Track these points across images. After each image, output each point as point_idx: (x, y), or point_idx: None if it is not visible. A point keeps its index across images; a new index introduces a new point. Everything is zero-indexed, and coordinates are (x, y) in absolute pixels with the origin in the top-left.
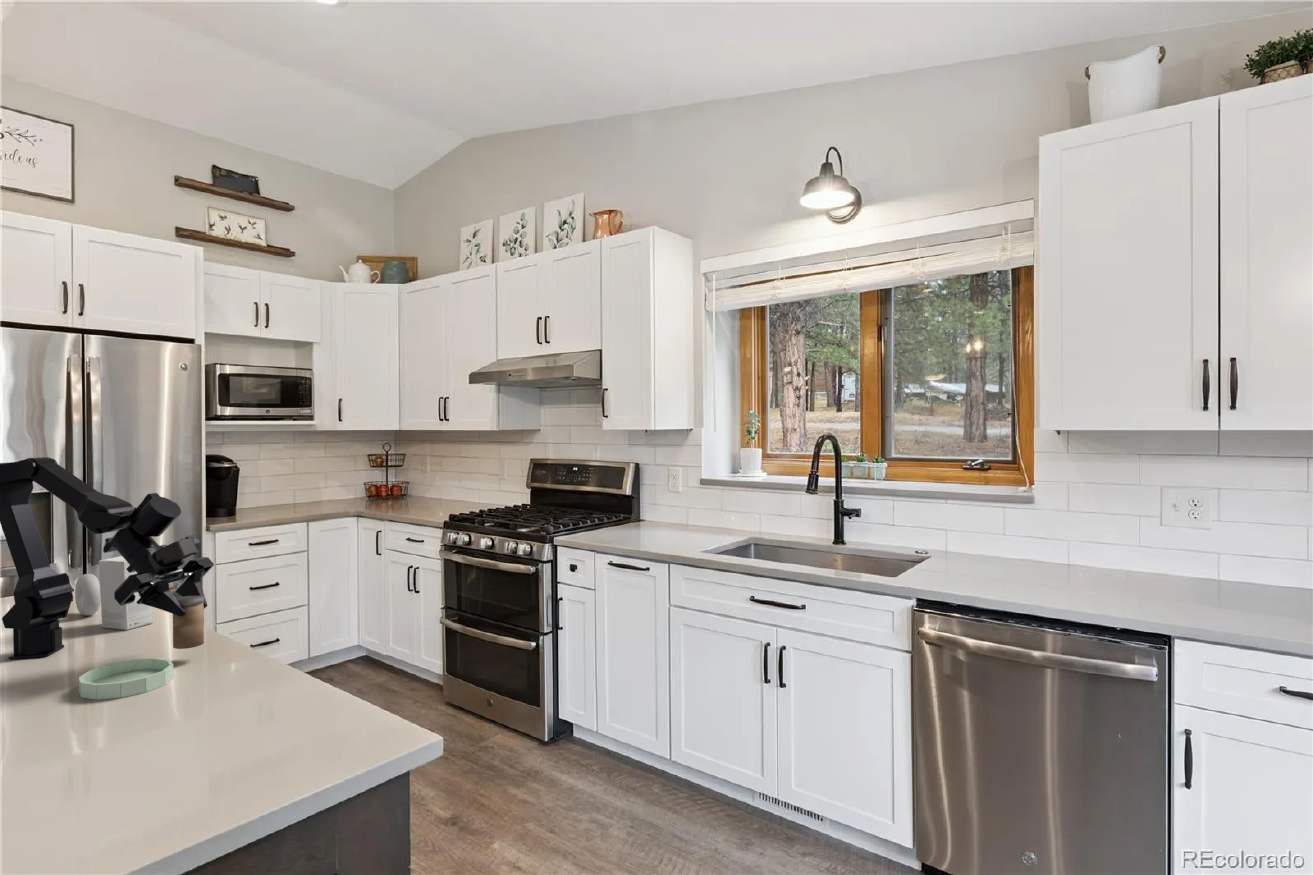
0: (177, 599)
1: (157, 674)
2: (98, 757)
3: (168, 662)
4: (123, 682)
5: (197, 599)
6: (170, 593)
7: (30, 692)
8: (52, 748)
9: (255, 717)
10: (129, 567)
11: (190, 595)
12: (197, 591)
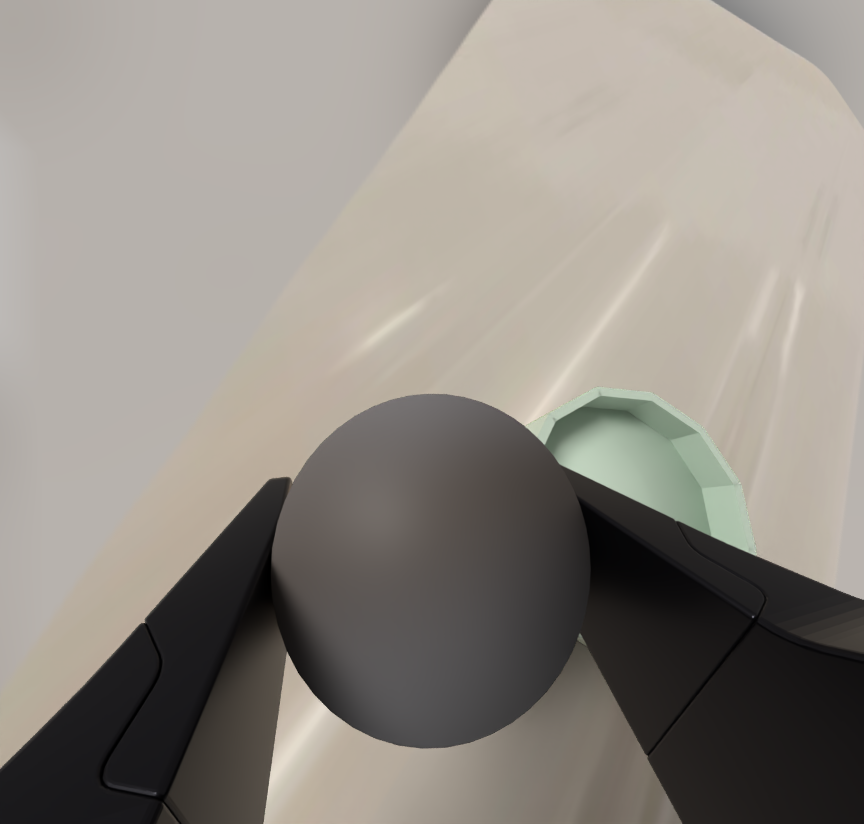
0: (514, 643)
1: (618, 389)
2: (788, 246)
3: None
4: (697, 423)
5: (444, 413)
6: (734, 578)
7: None
8: (818, 339)
9: (607, 113)
10: None
11: (257, 741)
12: (248, 618)
